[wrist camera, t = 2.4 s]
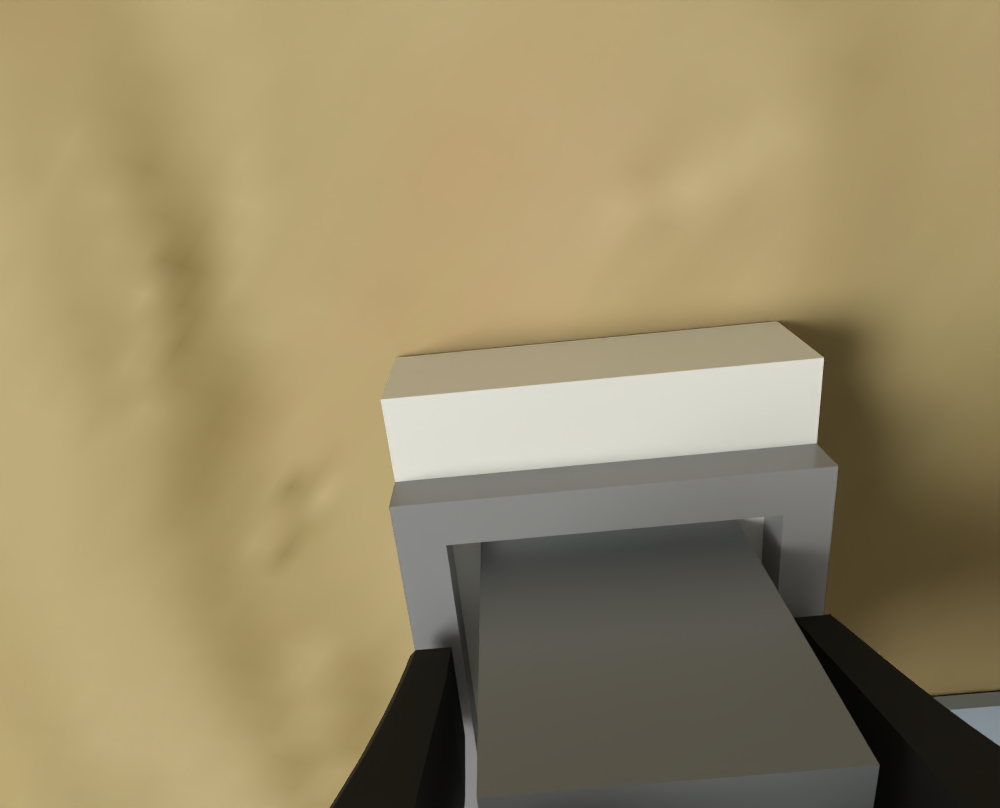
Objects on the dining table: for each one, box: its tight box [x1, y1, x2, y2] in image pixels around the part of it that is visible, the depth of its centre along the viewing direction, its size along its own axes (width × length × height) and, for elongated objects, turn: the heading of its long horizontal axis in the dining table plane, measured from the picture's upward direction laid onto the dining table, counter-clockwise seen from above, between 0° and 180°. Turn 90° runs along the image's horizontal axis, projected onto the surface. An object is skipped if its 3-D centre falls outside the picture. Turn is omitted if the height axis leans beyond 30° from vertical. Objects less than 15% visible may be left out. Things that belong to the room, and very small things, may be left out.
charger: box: [477, 519, 880, 808], centre depth 11 cm, size 4×4×5 cm
